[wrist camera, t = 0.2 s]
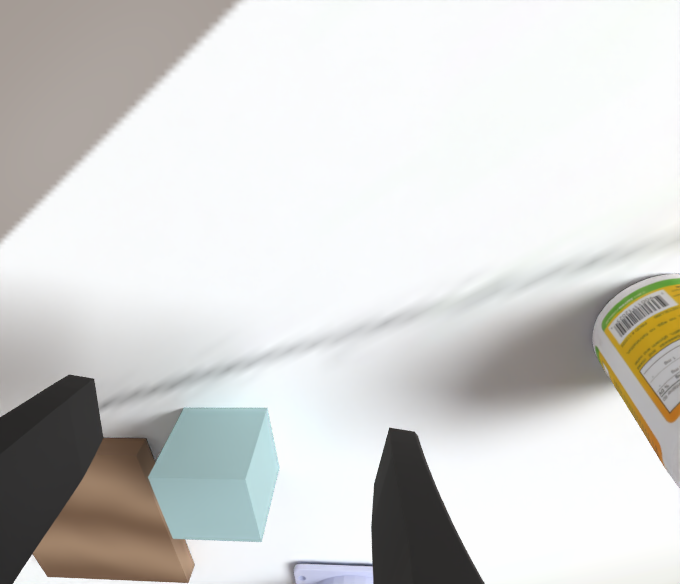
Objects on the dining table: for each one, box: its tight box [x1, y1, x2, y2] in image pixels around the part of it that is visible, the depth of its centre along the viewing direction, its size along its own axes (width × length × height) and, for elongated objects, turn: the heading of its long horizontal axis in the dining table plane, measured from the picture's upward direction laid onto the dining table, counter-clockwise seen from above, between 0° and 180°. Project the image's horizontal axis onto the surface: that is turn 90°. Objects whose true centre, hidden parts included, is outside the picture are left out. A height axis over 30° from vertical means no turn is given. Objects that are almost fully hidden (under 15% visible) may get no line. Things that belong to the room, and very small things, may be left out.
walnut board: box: [33, 438, 194, 583], centre depth 30 cm, size 12×10×1 cm
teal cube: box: [148, 408, 279, 542], centre depth 24 cm, size 4×4×4 cm
